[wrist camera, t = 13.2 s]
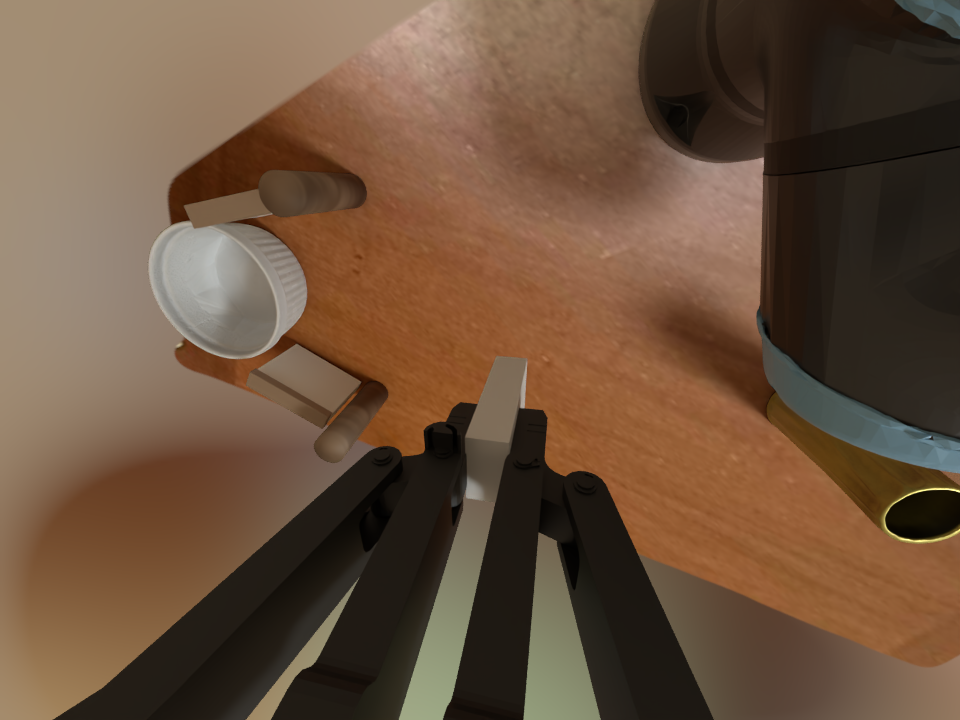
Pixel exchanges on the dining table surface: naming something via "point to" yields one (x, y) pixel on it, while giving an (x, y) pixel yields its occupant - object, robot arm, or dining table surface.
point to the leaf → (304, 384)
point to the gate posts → (317, 195)
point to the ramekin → (227, 286)
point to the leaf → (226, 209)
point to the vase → (878, 482)
